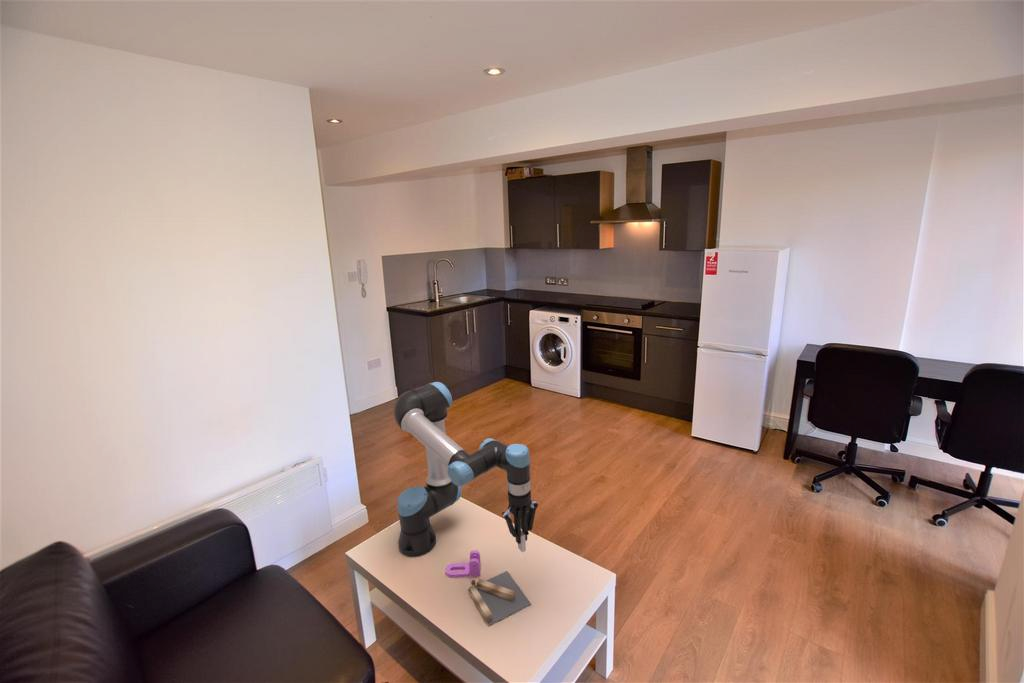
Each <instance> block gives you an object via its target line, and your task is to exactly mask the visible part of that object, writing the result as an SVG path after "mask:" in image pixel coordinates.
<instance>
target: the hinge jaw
mask: <svg viewBox="0 0 1024 683" xmlns="http://www.w3.org/2000/svg"><path fill="white" fill-rule="evenodd" d="M476 585H477V588H478V589H480V590H483V591H486V592H488V593H491V594H494V595H496V596H499V597H502V598H504V599H507V600H510V601H513V600H514V598H515V591H512V590H510V589H507V588H504V587H501V586H499V585H496V584H493V583H490V582H487V581H486V580H485V579H481V578H478V580H477V581H476Z"/></svg>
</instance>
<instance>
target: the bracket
mask: <svg viewBox="0 0 1024 683" xmlns="http://www.w3.org/2000/svg"><path fill="white" fill-rule="evenodd" d="M481 563H482V562H481V554H480V551H479V550H477V549H473V550H471V551H470V553H469V562H454V563H453V562H452V563H449V564H448V565H446V567H445V575H446V576H447V577H448V578H450V579H452V578H465V577H466V578H469V577H481V565H482V564H481Z"/></svg>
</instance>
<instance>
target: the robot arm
mask: <svg viewBox="0 0 1024 683" xmlns="http://www.w3.org/2000/svg"><path fill="white" fill-rule="evenodd" d="M452 405H453V398H452V394H451V392H450V391H449V389H448V387H447V385H445V384H444V383H443V382H440V381H434V382H429V383H427V384H425V385H422V386H419V387H417V388H414V389H411V390H408V391H405V392H402V393H401V394H400V395H399V396H398V397H397V399H396V401H395V403H394V407H393V417H394V420H395V423H396V424H397V426H398V427H399V428H400V429H401V430H402V431H403V432H404V433H410V434H411V435H412V436H413V437H414V438H415V439H416V440H418V441H419V442H420V443H421V444H422V445H423V447H425V452H426V453H425V454H426V462H427V468H428V469H427V470H428V474H427V476H426V478H425V483H426V485H425V486H421V485H416V486H415V487H414V486H411V487H408V488H406V489H405V490H404V491H402V492H401V493H400V495H399V497H398V499H397V513H398V517H399V519H398V520H399V525H400V532H399V536H398V540H397V543H398V545H397V546H398V550H399V553H400V554H402V555H404V556H406V557H409V558H416V557H421V556H425V555H426V554H429V553H430V552H431V551H432V550H433V549H434V548H435V546H436V544H437V535H436V532H435V530H434V528H433V526H432V524H431V520H430V519H431V517H433V516H435V515H436V514H438V513H439V512H442V511H444V510H446V509H448V508H449V507H450V506H453V505H454V504H455V503H456V502H458V501H459V500H460V498H461V497H462V494H463V493H462V492H463V490H462V486H465V485H466V484H468V483H471V482H472V481H473V480H475V479H477V478H479V477H480V476H483V475H484V474H486V473H488V472H489V471H491V470H493V469H495V468H499V469H501V470H504V471H505V472H506V475H507V476H506V479H507V480H506V481H507V483H506V484H507V500H508V506H507V510H505V511H503V512H501V516H502V517H503V518H504V519H505V522H506V525H507V528H508V531H509V533H510V534H511V536H512V537H513V538H515V542H516V543H517V549H519V550H520V552H521V553H524V552H526V551H527V549H526V548H527V546H526V545H527V544H526V543H527V541H528V536H529V535H530V533H529V531H532V529H533V527H534V522H535V521H534V520H535V516H536V510H537V508H538V506H539V504H538V503H537V501H536V500H534V499H533V500H532V490H531V488H532V487H531V466H530V465H531V457H530V450H529V448H528V447H527V445H525V444H523V443H520V444H519V443H512V444H509V445H507V444H505V443H503V442H502V441H500V440H497V439H494V438H490V437H489V438H486V439H484V440H483V442H482V443H480V445H479V447H478V450H476V451H474V452H472V453H468V452H467V451H466V450H465V449H463V448H462V447H461V446H460V445H459V444H457V443H456V442H455V441H454V440H453V439H452V438H451V437H450V436H448V435H447V433H446V425H445V420H446V419H447V418H448V416H449V413H448V409H450V408H451V407H452ZM511 514H512V515H513V521H512V519H511V517H512V515H511Z"/></svg>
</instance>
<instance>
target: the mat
mask: <svg viewBox="0 0 1024 683" xmlns="http://www.w3.org/2000/svg"><path fill="white" fill-rule="evenodd" d="M485 581H487V582H490V583H493V584H496V585H499V586H501V587H504V588H507V589H510V590H512V591H515V598H514V600H513V601H510V600H507V599H504V598H502V597H499V596H496V595H494V594H491V593H488V592H486V591H483V590H480V589H478V588H477V584H476V589H477V590H478V592H479V594H480V595H481V597H482V599H483V600H484V602H485V604H486V605H487V607H488V608H489V610H490V612H491V613H492V621H490V622H488V623H487V622H486V623H487V625H488V627H491V626H494V625H495V624H497V623H498V622H501V621H502V620H505V619H506V618H508V617H510V616H512V615H514V614H516V613H518V612H521V611H522V610H525V609H526V608H528V607H530V606H532V603H531V601H530V600H529V599H528V597H527V596H526V594H525V593H524V592H523V591H522V588H520V587H519V586H520V585H518V584H517V582H516V581H515V579H514V578H513V576H512V575H511V574H510V572H509V571H508V570H506V571H504V572H502V573H499V574H497V575H495V576H493V577H490V578H488V579H487V580H485ZM467 591H468V592H469V588H468V589H467Z"/></svg>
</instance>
